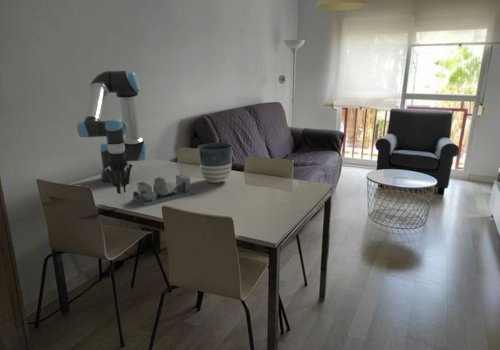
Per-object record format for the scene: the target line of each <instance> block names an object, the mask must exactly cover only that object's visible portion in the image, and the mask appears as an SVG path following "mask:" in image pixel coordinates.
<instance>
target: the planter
mask: <svg viewBox="0 0 500 350" xmlns="http://www.w3.org/2000/svg"><path fill="white" fill-rule="evenodd" d="M197 151H198V159H199V160H198V161H199V168H200V172H201V175H202V177H203V178H204V179H205V180H206V181H208V182H209V183H212V184H219V183H222V182H224V181H226V180H227V179H228V178H229V176H230V175H231V171H232V159H233V158H232V157H233V156H232V155H233V146H232V144H229V143H225V142H210V143H204V144H200V145H198V146H197Z"/></svg>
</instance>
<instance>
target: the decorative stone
mask: <svg viewBox="0 0 500 350" xmlns="http://www.w3.org/2000/svg"><path fill="white" fill-rule="evenodd" d="M176 189H177V184H176V181H172V180H168V179H166V178H165V177H162V176H159V177H158V176H157V177H155V179H154V182H153V188H152V191H153V192H155V193H156V194H157V195H161V196H163V195H168V194H171V193H172V192H173V191H174V190H176Z"/></svg>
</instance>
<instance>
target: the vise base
mask: <svg viewBox="0 0 500 350" xmlns="http://www.w3.org/2000/svg"><path fill="white" fill-rule="evenodd" d="M175 183H176V184H177V189H176V190H174V191H173V192H172V193H171V194H168V195H163V196H161V195H157V194H156V193H155V192H154V191H152V196H153V200H150V201H146V200H144V199H143V198H141V197H139V195H138V196H136V197H135V196H132V200H133V201H135V202H136V203H138V204H140V205H141V206H143V207H148V206H152V205H156V204H160V203H164V202H167V201H168V202H169V201H172V200H176V199H179V198H184V197H188V196H191V195H194V193H195V192H194V190H192V189H191V179H190V177H188V176H185V175H183V174H181V173H180V174H177V173H176V174H175Z"/></svg>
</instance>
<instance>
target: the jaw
mask: <svg viewBox="0 0 500 350" xmlns="http://www.w3.org/2000/svg"><path fill="white" fill-rule="evenodd" d="M151 185H152V184H149V183H148V182H146V181H143V180H142V182H137V190H136V191H133V193H132V195H133V196H135V197H136V196H138V195H139V197H141V198H143V199H144V200H146V201H150V200H153V196H152V192H153V188H152V186H151ZM133 196H132V197H133Z"/></svg>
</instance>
